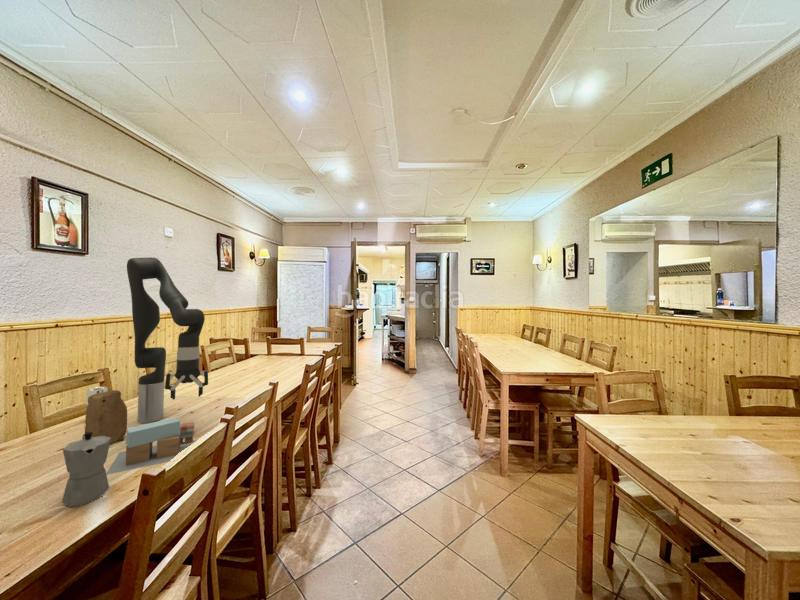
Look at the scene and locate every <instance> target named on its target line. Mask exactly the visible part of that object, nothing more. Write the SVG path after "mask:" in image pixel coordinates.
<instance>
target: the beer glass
mask: <svg viewBox="0 0 800 600" xmlns="http://www.w3.org/2000/svg"><path fill="white" fill-rule="evenodd" d="M106 391H109V389H108V386H96V387H91V388H87V389H86V395H85V404H86V405H85V406H86V407H87V405H88V397H89V396H91V395H94V394H97V393H101V392H106Z"/></svg>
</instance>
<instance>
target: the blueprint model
mask: <svg viewBox="0 0 800 600" xmlns="http://www.w3.org/2000/svg"><path fill="white" fill-rule="evenodd" d="M184 440H185V441H184ZM194 442H195V443H196V438H194V435H193V429H191V430H187V425H184V426H181V431H180V446H186V445H191V444H192V443H194Z"/></svg>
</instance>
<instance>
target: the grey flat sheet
mask: <svg viewBox="0 0 800 600" xmlns="http://www.w3.org/2000/svg"><path fill="white" fill-rule="evenodd" d="M183 441H185V439H183ZM188 446H190V445H186V446H180V449H179V452H181V451H182V450H184V449H185V448H187V447H188ZM175 456H176V455H174V456H169V457H164V458H159V459H157V445H154V446H153V445H152V455H151V457H150V460H149V461H144V462H139V463H134V464H130V465H126V450H125V451H120V452H118V453H117V455H116V457H115V459H114V461H112V464H111V465H110V466H109V469H108V470H107V471H106V475H107V476H108V475H110V474H111V475H112V474H115V473H116V474H117V473H121V472H126V471H130V470H136V469H140V468H146V467H150V466H155V465H159V464H163V463H168V462H171V461H170V460H171V459H173V458H174V457H175Z"/></svg>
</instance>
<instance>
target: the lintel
mask: <svg viewBox="0 0 800 600" xmlns="http://www.w3.org/2000/svg"><path fill="white" fill-rule="evenodd" d="M180 425H181V419H179V418H178V416H177V417H172V418H168V419H161V420H158V421H154V422H149V423H143V424H141V425H136V426H132V427H127V430H126V442H125V444H126V447H127V446H128V448H131V447H135V446H138V445H142V444H146V443H150V442H153V443H154V442H157V441H158V440H161V439H165V438H169V437H173V436H177V435H180Z"/></svg>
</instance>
